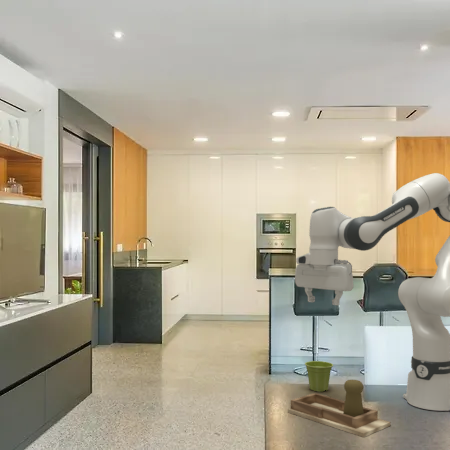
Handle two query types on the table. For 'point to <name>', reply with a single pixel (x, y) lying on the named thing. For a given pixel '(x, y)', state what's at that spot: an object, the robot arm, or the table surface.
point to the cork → (353, 398)
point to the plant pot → (318, 375)
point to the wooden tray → (337, 414)
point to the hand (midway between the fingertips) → (323, 303)
